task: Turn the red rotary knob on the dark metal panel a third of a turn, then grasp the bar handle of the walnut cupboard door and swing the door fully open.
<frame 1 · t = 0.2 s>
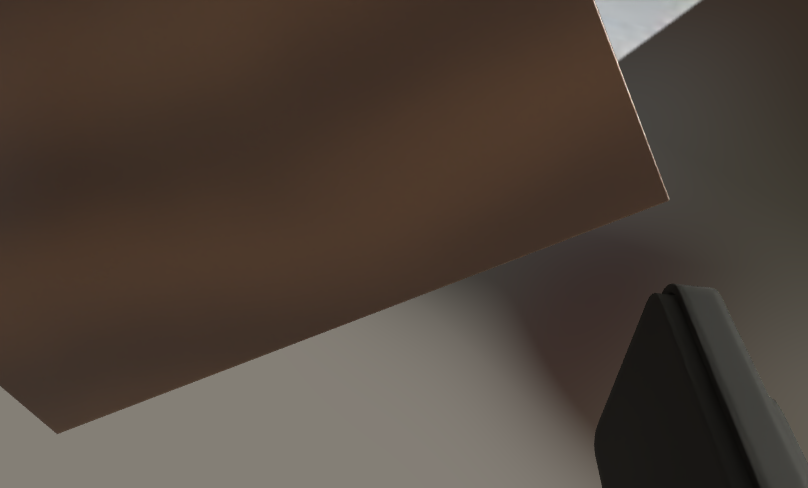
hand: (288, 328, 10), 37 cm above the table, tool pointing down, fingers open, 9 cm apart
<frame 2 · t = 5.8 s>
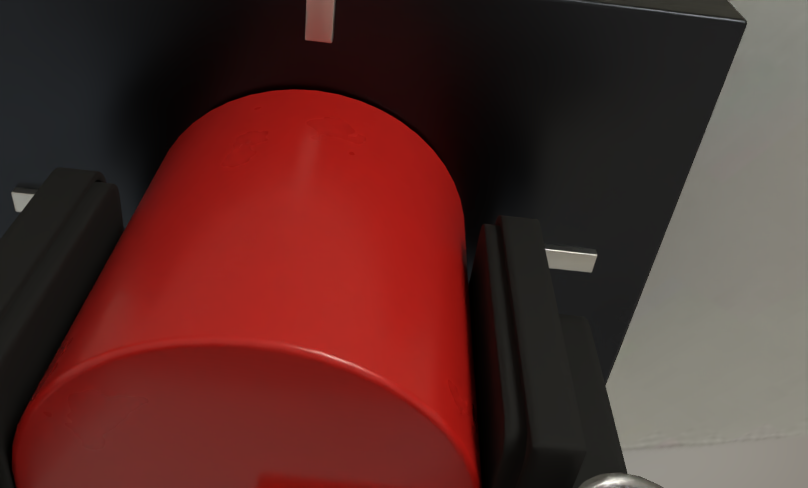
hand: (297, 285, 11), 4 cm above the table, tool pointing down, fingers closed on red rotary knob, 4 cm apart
valve panel: (327, 149, 14), on the table
red rotary knob: (284, 349, 10), point 5 cm above the table, hinge at 0.0°, touching gripper
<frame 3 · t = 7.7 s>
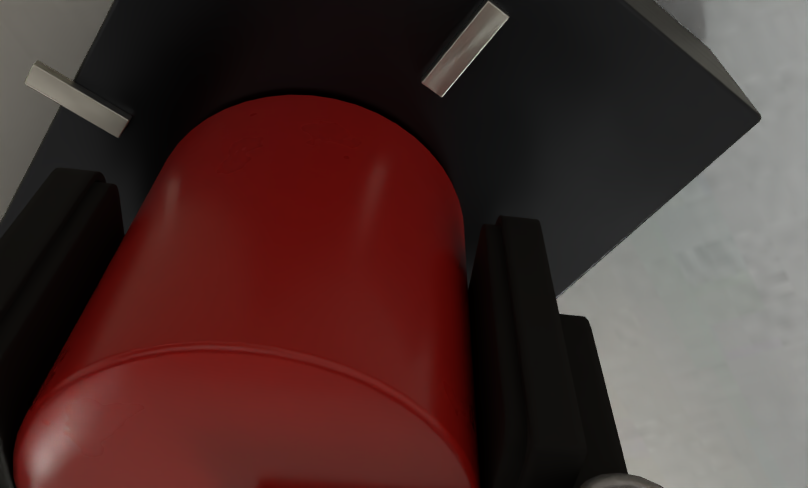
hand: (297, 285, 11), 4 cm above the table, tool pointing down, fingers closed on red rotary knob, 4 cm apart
valve panel: (327, 153, 14), on the table
red rotary knob: (284, 354, 10), point 5 cm above the table, hinge at 121.5°, touching gripper
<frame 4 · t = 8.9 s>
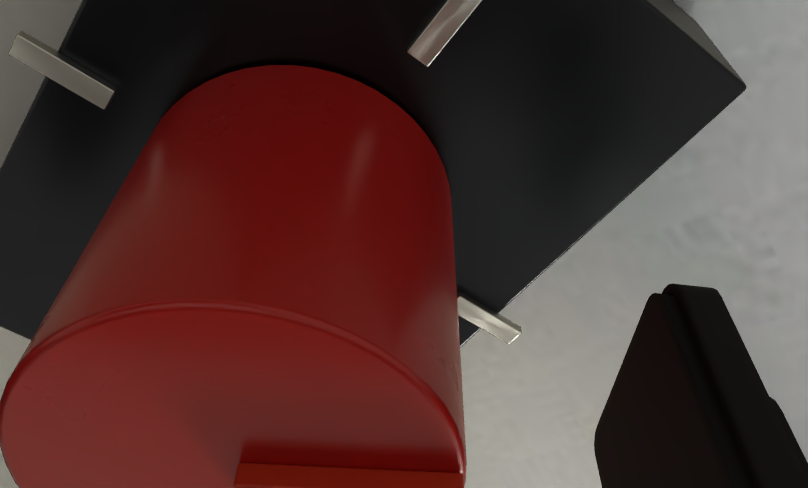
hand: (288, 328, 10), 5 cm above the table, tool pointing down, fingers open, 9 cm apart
valve panel: (315, 128, 14), on the table
red rotary knob: (271, 322, 10), point 5 cm above the table, hinge at 123.5°
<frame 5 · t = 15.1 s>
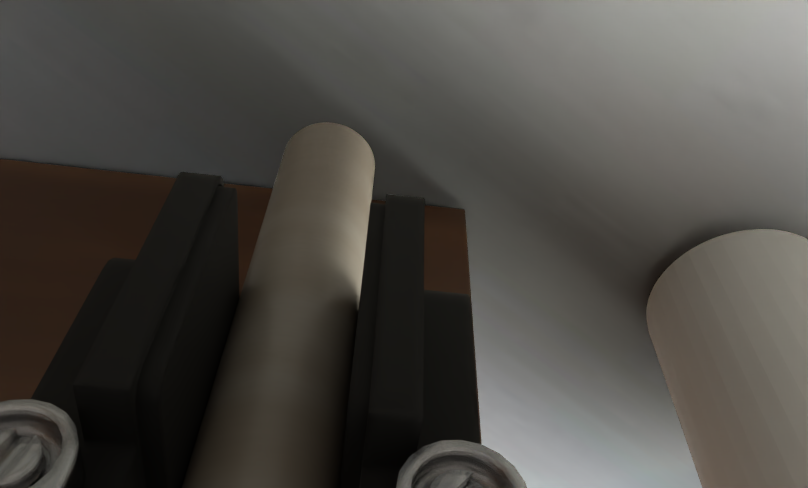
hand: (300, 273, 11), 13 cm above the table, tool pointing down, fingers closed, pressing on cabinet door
beverage can: (730, 285, 27), on the table
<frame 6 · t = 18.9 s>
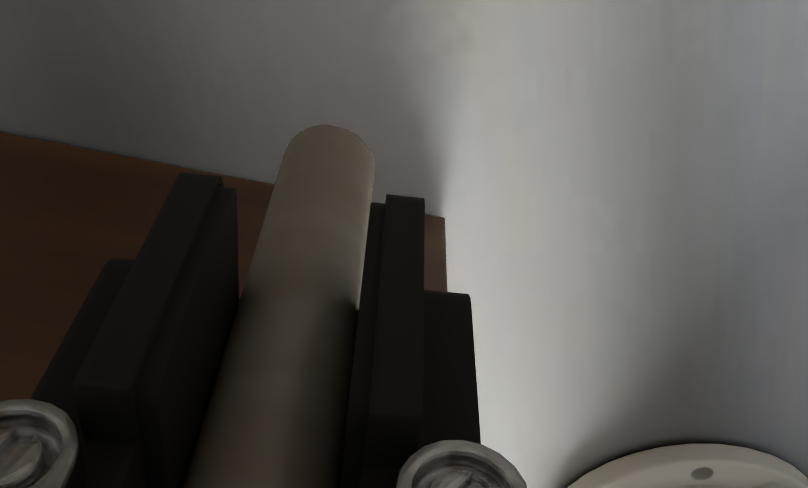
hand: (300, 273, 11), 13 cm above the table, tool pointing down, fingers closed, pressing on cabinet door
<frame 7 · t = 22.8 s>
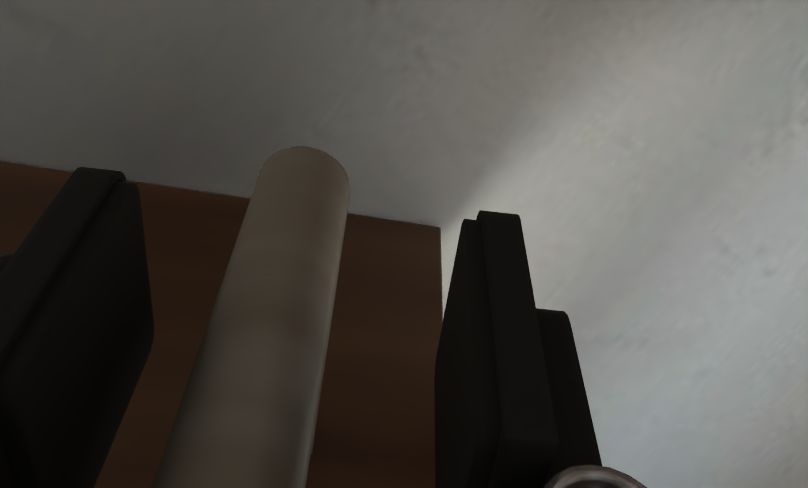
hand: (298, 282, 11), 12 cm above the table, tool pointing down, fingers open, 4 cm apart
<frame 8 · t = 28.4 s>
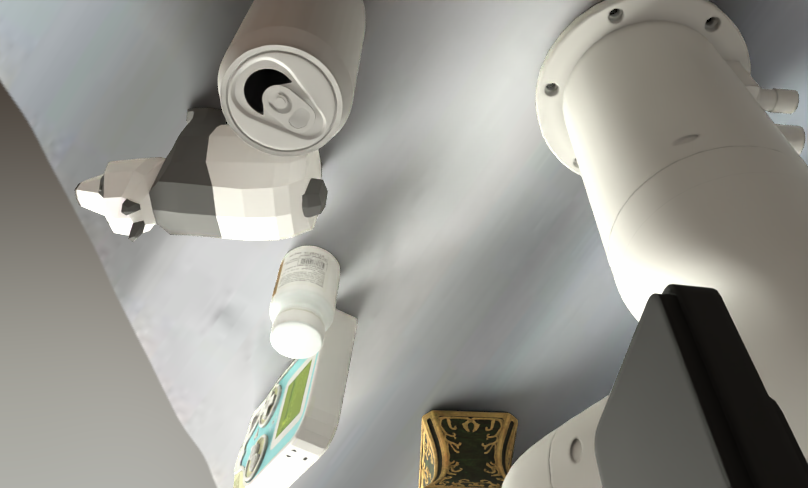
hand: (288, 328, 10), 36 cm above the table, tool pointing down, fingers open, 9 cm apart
pill bottle: (311, 266, 56), on the table
beverage can: (313, 11, 45), on the table
giant panda: (235, 140, 50), on the table
handheld gaming console: (298, 370, 62), on the table
decorative box: (467, 446, 68), on the table
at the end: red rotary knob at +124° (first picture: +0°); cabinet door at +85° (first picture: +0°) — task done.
